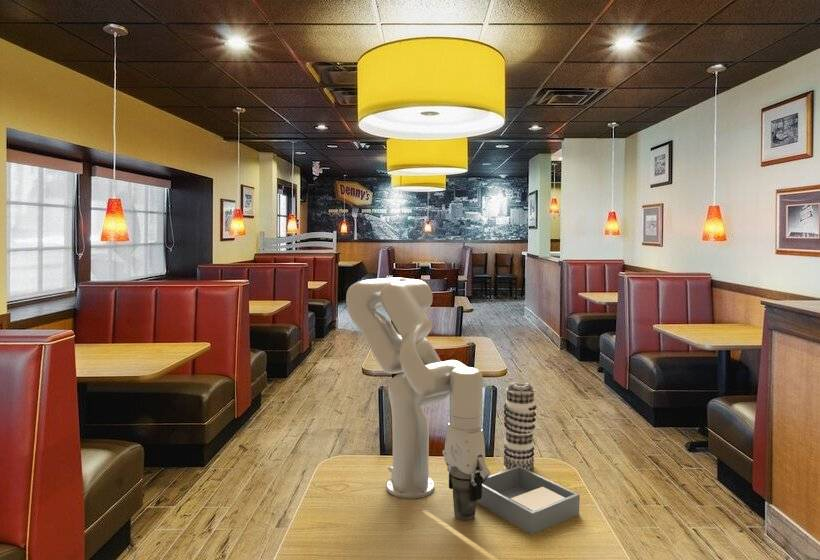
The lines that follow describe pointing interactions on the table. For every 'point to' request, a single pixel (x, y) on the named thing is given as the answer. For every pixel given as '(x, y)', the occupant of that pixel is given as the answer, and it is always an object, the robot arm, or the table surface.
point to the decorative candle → (519, 426)
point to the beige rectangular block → (537, 498)
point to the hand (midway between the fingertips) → (465, 493)
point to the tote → (519, 482)
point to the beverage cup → (462, 495)
